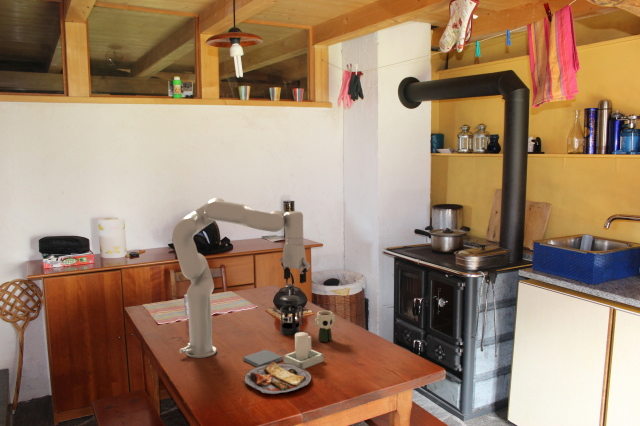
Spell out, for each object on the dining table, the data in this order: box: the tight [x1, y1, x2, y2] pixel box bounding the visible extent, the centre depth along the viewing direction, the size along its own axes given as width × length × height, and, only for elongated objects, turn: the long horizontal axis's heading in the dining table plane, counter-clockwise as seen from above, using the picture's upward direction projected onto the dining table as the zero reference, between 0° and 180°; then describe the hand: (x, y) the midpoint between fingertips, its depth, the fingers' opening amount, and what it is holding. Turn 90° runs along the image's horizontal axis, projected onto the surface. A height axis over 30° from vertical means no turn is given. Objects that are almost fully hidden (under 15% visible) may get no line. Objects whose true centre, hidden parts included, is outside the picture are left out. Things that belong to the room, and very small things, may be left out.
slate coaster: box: [242, 349, 284, 367], centre depth 229 cm, size 12×11×2 cm
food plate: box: [243, 362, 312, 395], centre depth 209 cm, size 25×23×4 cm
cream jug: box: [294, 331, 312, 361], centre depth 226 cm, size 8×6×12 cm
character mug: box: [314, 310, 336, 343], centre depth 250 cm, size 11×7×13 cm, turn 121°
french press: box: [279, 284, 304, 337], centre depth 260 cm, size 12×9×23 cm
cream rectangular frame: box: [283, 349, 324, 370], centre depth 227 cm, size 12×10×3 cm
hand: (295, 280), depth 234 cm, fingers open, 9 cm apart
